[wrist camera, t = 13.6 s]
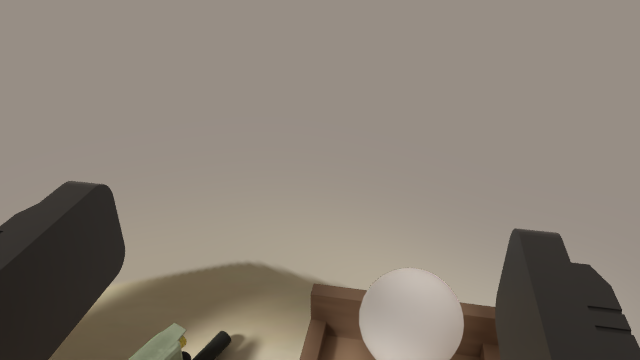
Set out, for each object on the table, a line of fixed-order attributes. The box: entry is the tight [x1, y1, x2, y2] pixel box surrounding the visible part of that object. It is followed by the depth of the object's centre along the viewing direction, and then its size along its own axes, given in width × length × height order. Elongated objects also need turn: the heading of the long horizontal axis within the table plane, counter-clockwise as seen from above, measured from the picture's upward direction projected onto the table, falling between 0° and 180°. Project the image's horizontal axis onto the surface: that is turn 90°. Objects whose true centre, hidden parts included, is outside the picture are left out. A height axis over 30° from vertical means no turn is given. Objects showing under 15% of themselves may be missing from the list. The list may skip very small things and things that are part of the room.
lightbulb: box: [359, 268, 464, 360], centre depth 31 cm, size 6×6×11 cm
